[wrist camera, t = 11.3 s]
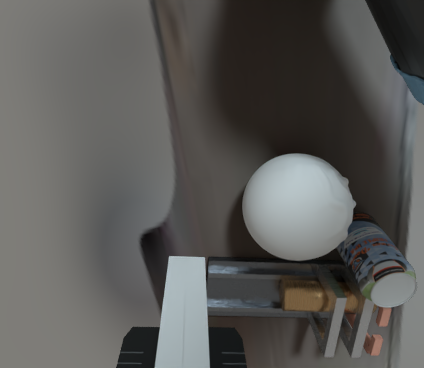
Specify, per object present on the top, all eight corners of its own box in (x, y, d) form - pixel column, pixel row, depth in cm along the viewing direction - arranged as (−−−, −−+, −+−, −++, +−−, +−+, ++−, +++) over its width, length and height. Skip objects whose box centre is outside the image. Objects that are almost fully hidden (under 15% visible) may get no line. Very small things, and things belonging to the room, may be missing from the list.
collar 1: (317, 264, 49) (337, 297, 42) (325, 264, 49) (347, 298, 42) (307, 317, 52) (324, 357, 45) (315, 317, 52) (333, 357, 45)
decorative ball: (340, 208, 47) (386, 255, 36) (257, 242, 48) (276, 299, 37) (312, 126, 43) (353, 151, 32) (222, 166, 44) (231, 203, 33)
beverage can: (369, 202, 47) (424, 249, 36) (375, 249, 49) (428, 306, 38) (323, 214, 47) (363, 264, 36) (331, 260, 50) (370, 320, 38)
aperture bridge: (356, 268, 49) (384, 305, 42) (363, 268, 49) (392, 306, 42) (345, 315, 52) (370, 358, 44) (352, 315, 52) (377, 358, 45)
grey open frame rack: (208, 256, 49) (209, 264, 47) (371, 262, 50) (377, 269, 48) (204, 310, 52) (205, 319, 50) (358, 314, 53) (363, 322, 51)
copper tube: (278, 306, 50) (286, 315, 45) (279, 276, 50) (287, 282, 46) (362, 309, 50) (377, 317, 46) (362, 279, 51) (377, 285, 47)
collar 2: (342, 264, 49) (365, 298, 42) (350, 265, 49) (375, 298, 42) (330, 318, 52) (351, 357, 45) (338, 318, 52) (360, 357, 45)
